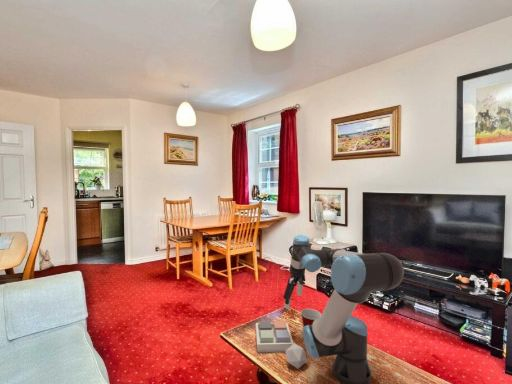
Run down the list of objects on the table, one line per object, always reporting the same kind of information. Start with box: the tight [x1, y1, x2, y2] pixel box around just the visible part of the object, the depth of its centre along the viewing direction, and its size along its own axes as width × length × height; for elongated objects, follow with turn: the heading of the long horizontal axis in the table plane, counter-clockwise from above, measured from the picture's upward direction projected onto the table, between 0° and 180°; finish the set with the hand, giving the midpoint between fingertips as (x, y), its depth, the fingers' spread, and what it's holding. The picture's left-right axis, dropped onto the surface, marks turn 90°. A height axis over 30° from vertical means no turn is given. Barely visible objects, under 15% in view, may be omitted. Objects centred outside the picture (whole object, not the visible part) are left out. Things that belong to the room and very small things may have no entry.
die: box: [284, 342, 308, 370], centre depth 124 cm, size 8×9×10 cm
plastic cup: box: [300, 308, 322, 329], centre depth 147 cm, size 11×11×12 cm
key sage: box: [260, 330, 274, 343], centre depth 138 cm, size 7×6×3 cm
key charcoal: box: [258, 320, 272, 330], centre depth 147 cm, size 7×6×3 cm
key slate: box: [275, 330, 289, 343], centre depth 138 cm, size 7×6×3 cm
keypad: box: [255, 322, 295, 354], centre depth 143 cm, size 20×17×4 cm
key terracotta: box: [272, 320, 287, 331], centre depth 147 cm, size 7×6×3 cm
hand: (293, 301), depth 146 cm, fingers open, 13 cm apart
